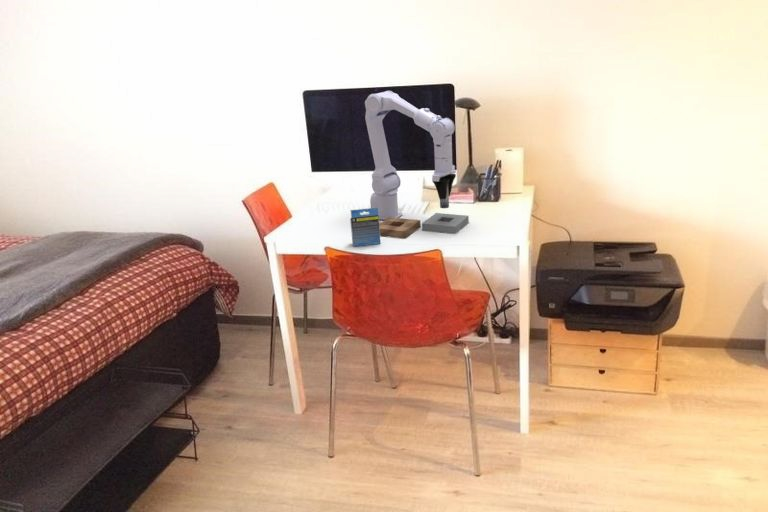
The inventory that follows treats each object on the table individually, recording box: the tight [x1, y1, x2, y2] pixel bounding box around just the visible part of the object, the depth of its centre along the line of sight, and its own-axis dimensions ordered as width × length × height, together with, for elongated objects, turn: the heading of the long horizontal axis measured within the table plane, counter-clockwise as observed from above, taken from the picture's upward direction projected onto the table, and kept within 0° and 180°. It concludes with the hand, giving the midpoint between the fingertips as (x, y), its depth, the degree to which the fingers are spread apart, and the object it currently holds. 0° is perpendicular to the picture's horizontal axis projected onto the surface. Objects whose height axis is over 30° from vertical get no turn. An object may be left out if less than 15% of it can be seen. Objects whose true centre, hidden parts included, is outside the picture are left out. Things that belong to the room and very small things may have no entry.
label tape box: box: [349, 207, 381, 248], centre depth 194 cm, size 9×4×12 cm, turn 98°
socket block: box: [379, 217, 422, 239], centre depth 205 cm, size 12×12×2 cm
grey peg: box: [439, 187, 450, 209], centre depth 202 cm, size 3×3×9 cm
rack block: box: [421, 212, 470, 234], centre depth 206 cm, size 12×12×2 cm
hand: (444, 197), depth 203 cm, fingers closed on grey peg, 3 cm apart
